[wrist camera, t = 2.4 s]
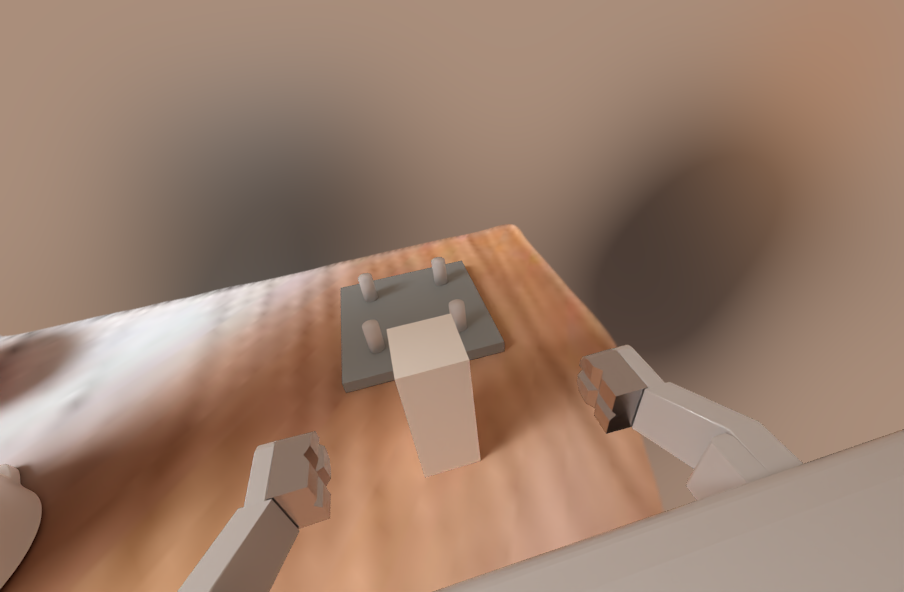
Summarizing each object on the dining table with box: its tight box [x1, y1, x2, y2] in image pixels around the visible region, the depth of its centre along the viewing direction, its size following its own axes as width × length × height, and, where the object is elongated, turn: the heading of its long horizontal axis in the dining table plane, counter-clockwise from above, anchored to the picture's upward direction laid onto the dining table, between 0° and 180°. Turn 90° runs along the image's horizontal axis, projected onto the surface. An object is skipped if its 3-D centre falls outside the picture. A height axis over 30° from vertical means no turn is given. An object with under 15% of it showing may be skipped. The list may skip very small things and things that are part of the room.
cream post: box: [386, 313, 481, 478], centre depth 30 cm, size 5×5×13 cm
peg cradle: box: [341, 257, 505, 393], centre depth 47 cm, size 18×18×5 cm
